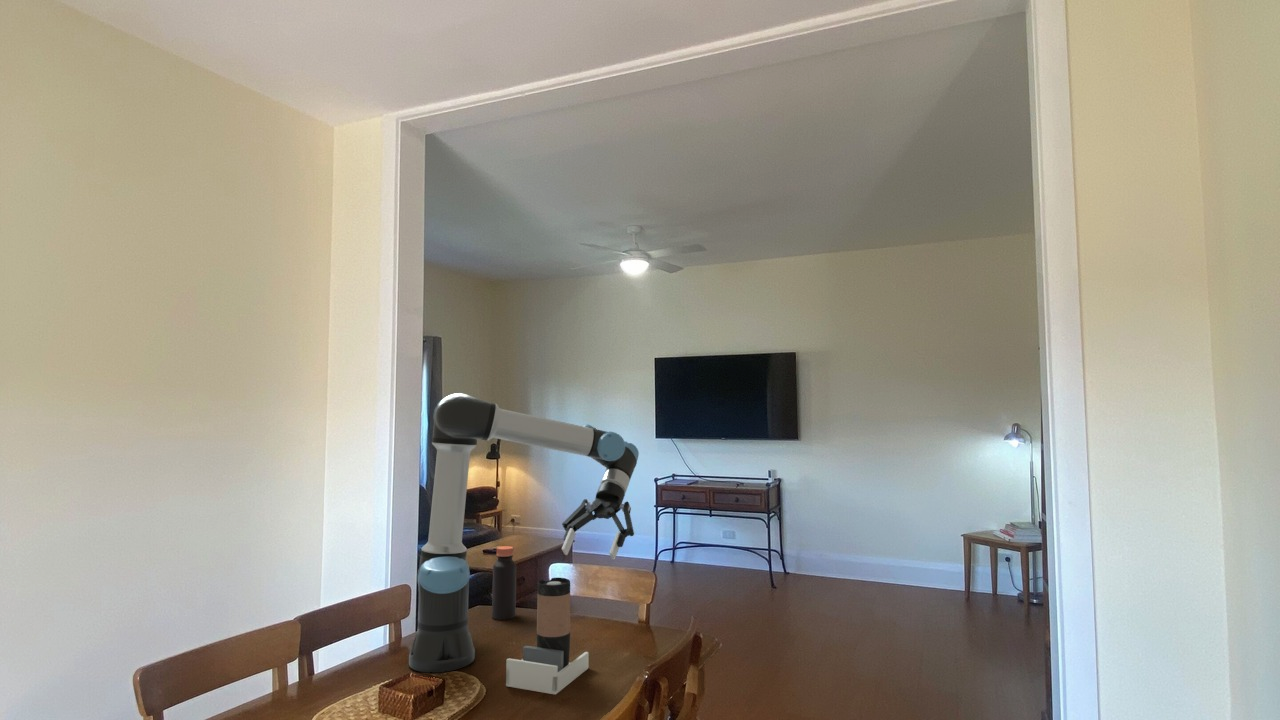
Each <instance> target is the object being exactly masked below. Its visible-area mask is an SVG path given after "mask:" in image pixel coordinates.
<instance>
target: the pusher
mask: <svg viewBox="0 0 1280 720" xmlns="http://www.w3.org/2000/svg"><path fill="white" fill-rule="evenodd" d="M563 656H564V651H560V650H554V649H547V648H540V647H537V646H532V645H531V646H530V645H524V646H523V647H522V659H523V661H530V662H536V663H543V664H549V665H556V666H558V672H559V671H560V670H562V669H563Z"/></svg>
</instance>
